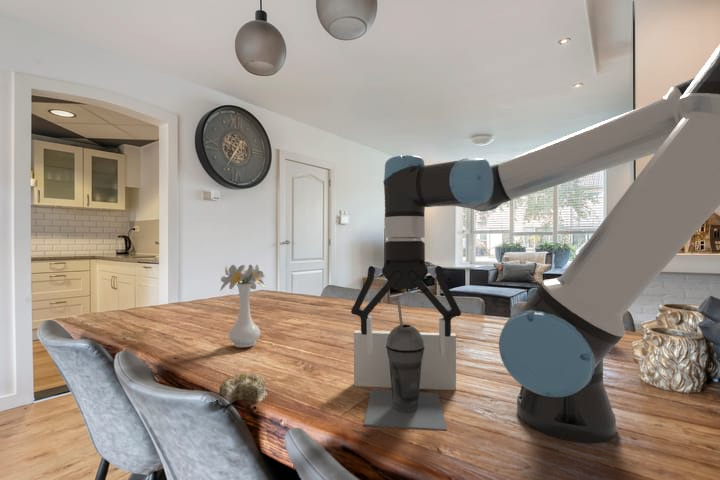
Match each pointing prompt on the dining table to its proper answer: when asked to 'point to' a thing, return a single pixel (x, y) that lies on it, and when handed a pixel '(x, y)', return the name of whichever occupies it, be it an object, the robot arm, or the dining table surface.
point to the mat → (387, 416)
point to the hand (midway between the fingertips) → (405, 352)
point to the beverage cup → (405, 365)
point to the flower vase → (243, 303)
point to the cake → (244, 388)
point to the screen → (377, 368)
